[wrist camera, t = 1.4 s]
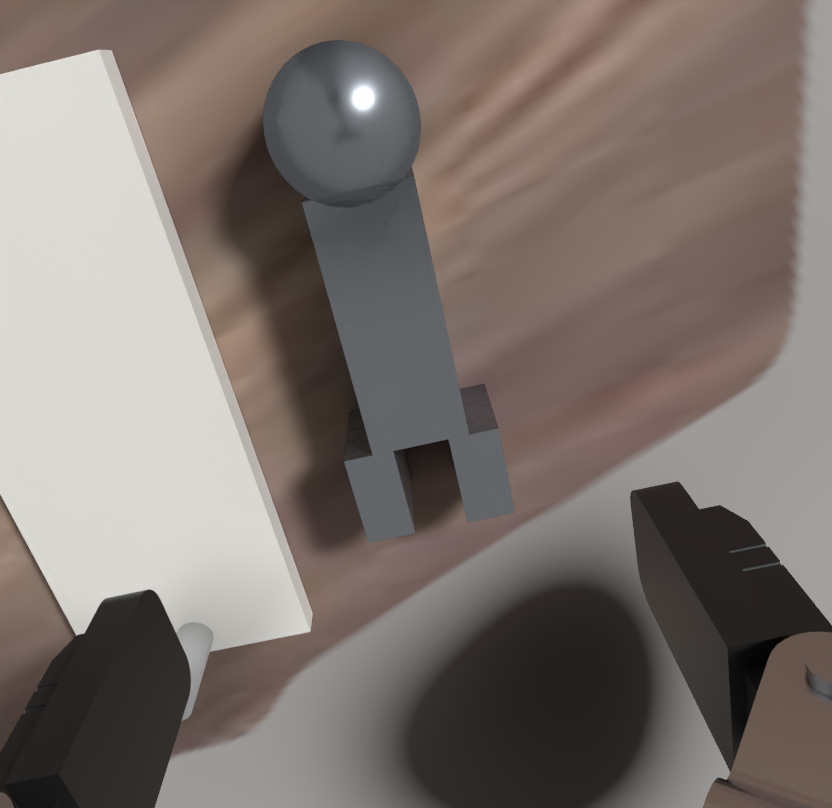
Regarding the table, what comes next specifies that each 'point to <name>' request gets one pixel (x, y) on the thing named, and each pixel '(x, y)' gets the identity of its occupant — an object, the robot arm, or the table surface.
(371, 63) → the ball-topped forked rod
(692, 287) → the table surface
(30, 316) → the peg rest
